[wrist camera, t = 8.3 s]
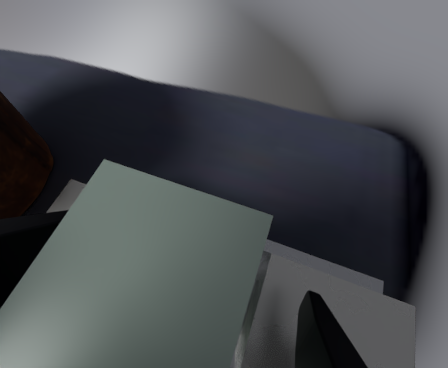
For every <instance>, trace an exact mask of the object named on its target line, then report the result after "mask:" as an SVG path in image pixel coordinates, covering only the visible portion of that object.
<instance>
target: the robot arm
mask: <svg viewBox="0 0 448 368" xmlns="http://www.w3.org/2000/svg"><path fill="white" fill-rule="evenodd" d="M68 211H69V210H64V211H56V212H49V213H42V214H34V215H27V216H19V217H12V218H5V219H0V309H1V307H2V306H3V304H4V303H5V301H6V300H7V299H8V297H9V296H10V294H11V293H12V291H13V290H14V289H15V287H16V286H17V284H18V283H19V281H20V280H21V278H22V277H23V276H24V274H25V273H26V271H27V270H28V268H29V267H30V265H31V264H32V263H33V261H34V260H35V258H36V257H37V255H38V254H39V252H40V251H41V250H42V248H43V247H44V245H45V244H46V242H47V241H48V239H49V238H50V237H51V235H52V234H53V232H54V231H55V229H56V228H57V226H58V225H59V224H60V222H61V221H62V219H63V218H64V216H65V215H66V214H67V212H68ZM295 368H368V367H367V365H366V364H365V362H364V361H363V359H362V358H361V356H360V355H359V353H358V352H357V350H356V349H355V347H354V345H353V344H352V342H351V341H350V339H349V338H348V336H347V335H346V333H345V332H344V330H343V329H342V327H341V326H340V324H339V323H338V321H337V319H336V318H335V316H334V315H333V313H332V312H331V310H330V309H329V307H328V306H327V304H326V303H325V301H324V300H323V298H322V296H321V295H320V294H318V293H316V292H313V291H311V290H308V291H307V292H306V294H305V296H304V298H303V300H302V302H301V304H300V307H299V311H298V322H297V334H296V346H295Z"/></svg>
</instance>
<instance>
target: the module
mask: <svg viewBox="0 0 448 368" xmlns="http://www.w3.org/2000/svg"><path fill="white" fill-rule="evenodd" d="M272 219H273V215H270V214H267V213H264V212H261V211H258V210H255V209H252V208H249V207H246V206H243V205H240V204H237V203H234V202H231V201H228V200H225V199H222V198H219V197H216V196H213V195H210V194H207V193H204V192H201V191H198V190H195V189H192V188H189V187H186V186H183V185H180V184H177V183H174V182H171V181H168V180H165V179H162V178H159V177H156V176H153V175H150V174H147V173H144V172H141V171H138V170H135V169H132V168H129V167H126V166H123V165H120V164H117V163H114V162H111V161H108V160H105V159H104V160H103V162H102V163H101V164H100V166H99V167H98V169H97V170H96V172H95V173H94V175H93V176H92V177H91V179H90V180H89V182H88V183H87V185H86V186H85V188H84V189H83V190H82V192H81V193H80V195H79V196H78V198H77V199H76V201H75V202H74V203H73V205H72V206H71V208H70V209H69V211H68V212H67V214H66V215H65V216H64V218H63V219H62V221H61V222H60V224H59V225H58V226H57V228H56V229H55V231H54V232H53V234H52V235H51V237H50V238H49V239H48V241H47V242H46V244H45V245H44V247H43V248H42V250H41V251H40V252H39V254H38V255H37V257H36V258H35V260H34V261H33V263H32V264H31V265H30V267H29V268H28V270H27V271H26V273H25V274H24V276H23V277H22V278H21V280H20V281H19V283H18V284H17V286H16V287H15V289H14V290H13V291H12V293H11V294H10V296H9V297H8V299H7V300H6V301H5V303H4V304H3V306H2V307H1V309H0V368H230V365H231V361H232V358H233V354H234V351H235V347H236V344H237V340H238V337H239V333H240V330H241V326H242V323H243V319H244V316H245V313H246V309H247V306H248V302H249V299H250V295H251V292H252V288H253V285H254V281H255V278H256V274H257V271H258V267H259V264H260V261H261V257H262V254H263V250H264V247H265V243H266V240H267V236H268V233H269V229H270V226H271V222H272Z"/></svg>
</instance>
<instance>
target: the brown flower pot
mask: <svg viewBox="0 0 448 368" xmlns="http://www.w3.org/2000/svg"><path fill="white" fill-rule="evenodd" d="M52 167H53V156H52V155H51V152H50V150H49V147H48V145H47V144H46V142H45V141H44V140H43V139H42V137H41V136H39V135H38V133H37V132H36V131H35V130H34V129H33V128H32V127H31V126H30V124H29V123H28V122H27V121H26V120H25V119H24V117H23V116H22V115H21V114H20V113H19V112H18V111H17V109H16V108H15V107H14V106H13V105H12V104H11V103H10V102H9V100H8V99H7V98H6V97H5V96H4V95H3V94H2V93H1V92H0V219H5V218H12V217H19V216H21V215H22V214H23V213H24V212H25V211H26V210H27V209H28V207H29V206H30V205H31V204H32V203H33V202H34V201H35V199H36V198H37V197H38V195H39V194H40V193H41V191H42V189H43V187H44V185H45V183H46V181H47V178H48V176H49V173H50V172H51V171H52Z"/></svg>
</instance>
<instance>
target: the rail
mask: <svg viewBox="0 0 448 368" xmlns="http://www.w3.org/2000/svg"><path fill="white" fill-rule="evenodd" d="M85 186H86V184H84V183H81V182H78V181H75V180H73V179H71V180H70V181H69V182H68V184H67V185H66V186H65V188H64V189H63V191H62V192H61V193H60V195H59V196H58V197H57V199H56V200H55V201H54V203H53V204H52V205H51V207H50V208H49V210H48V211H47V212H46V213H49V212H56V211H64V210H69V209H70V208H71V206H72V205H73V203H74V202H75V201H76V199H77V198H78V196H79V195H80V193H81V192H82V190H83V189H84V188H85ZM383 284H384V281H382V280H379V279H376V278H374V277H371V276H368V275H365V274H362V273H360V272H357V271H354V270H351V269H348V268H346V267H343V266H340V265H337V264H335V263H332V262H329V261H326V260H323V259H321V258H318V257H315V256H312V255H309V254H307V253H304V252H301V251H298V250H296V249H293V248H290V247H287V246H284V245H282V244H279V243H276V242H273V241H271V240H268V239H267V240H266V243H265V247H264V250H263V254H262V257H261V261H260V264H259V267H258V271H257V274H256V278H255V281H254V285H253V288H252V292H251V295H250V299H249V302H248V306H247V309H246V313H245V316H244V319H243V323H242V326H241V330H240V333H239V337H238V340H237V344H236V347H235V351H234V354H233V358H232V361H231V365H230V367H231V368H295V346H296V334H297V322H298V311H299V307H300V304H301V302H302V300H303V298H304V296H305V294H306V292H307V291H308V290H311V291H313V292H316V293H318V294H320V295H321V296H322V298H323V300H324V301H325V303H326V304H327V306H328V307H329V309H330V310H331V312H332V313H333V315H334V316H335V318H336V319H337V321H338V323H339V324H340V326H341V327H342V329H343V330H344V332H345V333H346V335H347V336H348V338H349V339H350V341H351V342H352V344H353V345H354V347H355V349H356V350H357V352H358V353H359V355H360V356H361V358H362V359H363V361H364V362H365V364H366V365H367V367H368V368H415V313H416V306H413V305H410V304H407V303H405V302H402V301H399V300H397V299H394V298H391V297H389V296H386V295H383Z"/></svg>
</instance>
